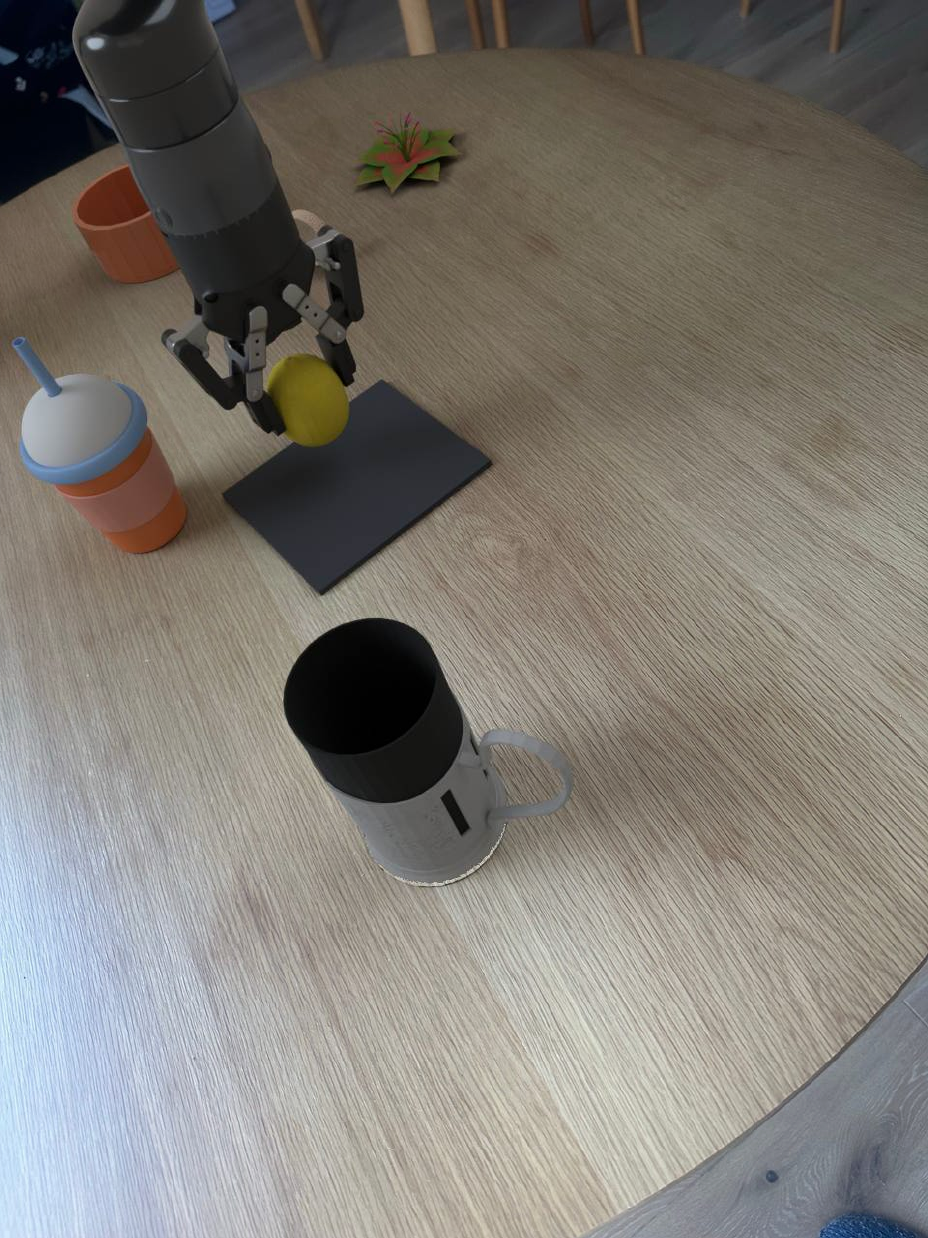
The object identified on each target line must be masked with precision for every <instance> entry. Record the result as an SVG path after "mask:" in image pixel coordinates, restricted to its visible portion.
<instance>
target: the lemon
mask: <svg viewBox="0 0 928 1238" xmlns="http://www.w3.org/2000/svg"><path fill="white" fill-rule="evenodd" d="M265 391H266V392H267V393H268V394H269V396H270V398H271V400H272V402H273V404H274V406H275V408H276V410H277V412H278V414H279V416H280V418H281V420H282V422H283V424H284V426H285V429H286V431H285V432H284V433H283V435H284V436H286V437H287V438H288V439H289V440H291V441H292V442H296V443H298V444H300V445H303V446H309V447H318V446H323V445H326V444H328V443H330V442H332V441H333V440H335V439H336V438H337V437H338V436H339V435H340V434H341V433H342V431H343V430H344V428H345V426H346V424H347V420H348V417H349V402H350V401H349V396H348V393H347V390H346V387H345V386H344V385H343V383H342V381H341V379H340V377H339V376H338V375H337V373H336V372H335V371H334V369H333V368H332V367H331V366H330V365H329V364H328V363H327V362H326V361H325V359H324V358H321V357H319V356H317V355H315V354H311V353H307V352H304V353H303V352H302V353H301V352H300V353H299V352H297V353H293V354H290V355H287V356H286V357H283V358H282V359H280V360H279V361H278V362H277V363H276V364H275V365H274V366H273V367H272V369H271V371H270V372H269V375H268V379H267V382H266V390H265Z"/></svg>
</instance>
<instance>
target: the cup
mask: <svg viewBox="0 0 928 1238" xmlns="http://www.w3.org/2000/svg"><path fill="white" fill-rule="evenodd" d="M70 213H71V218H72V221H73V223H74V224H75V226H76V228H77V230H78V231H79V233H80V235H81V236H82V238H83V240H84V241H85V243H86V245H87V246H88V248H89V250H90V251H91V253H92V255H93V257H94V258H95V260H96V261H97V264H98V265H99V267H100V269H102V271H103V272H104V273H105V275H106V276H107V277H108V278H109V279H111V280H113V281H115V282H119V283H122V284H123V283H124V284H140V283H145V282H150V281H153V280H157V279H160V278H162V277H165V276H167V275H169V274H172V273H173V272H175V271H177V270H179V269H180V268H179V266H178V264H177V262H176V260H175V258H174V256H173V254H172V252H171V250H170V248H169V247H168V245H167V243H166V241H165V239H164V237H163V235H162V233H161V231H160V229H159V227H158V225H157V223H156V221H155V219H154V218H153V216H152V214H151V212H150V210H149V208H148V206H147V204H146V202H145V200H144V198H143V196H142V194H141V193H140V191H139V189H138V187H137V184H136V182H135V180H134V178H133V176H132V173H131V170H130V168H129V165H128V163H126V164H123V165H120V166H118V167H116V168H114V169H111V170H109V171H107V172H106V173H104V174H102V175H101V176H99V177H97V178H96V179H94V180H93V181H91V183H89V184H88V185H87V186H86V187H85V188H84V189H83V190H81V192H80V193H79V195H78V196H77V197H76V198H75V200H74V201H73V204H72V208H71V211H70Z"/></svg>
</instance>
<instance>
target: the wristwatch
mask: <svg viewBox="0 0 928 1238" xmlns="http://www.w3.org/2000/svg"><path fill="white" fill-rule="evenodd" d="M291 213H292V215H293V218H294V220H299V221H300V222H303V223H305V224H307V225H308V226H309V227H310V228H311V229H312V230H313V231H314V234H315V235H317V236H316V238H318V232H319V230H320V228H321V227H323V226H325V225H327V224H326V221H323V220H322V219H321V218H320V217H319V216H317V215H316V214H314V213H312V212H311V211H309V210H305V209H294V210H292V211H291ZM316 266H319V265H318V263H317V261H316V264H315V267H316Z"/></svg>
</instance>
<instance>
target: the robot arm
mask: <svg viewBox="0 0 928 1238" xmlns="http://www.w3.org/2000/svg"><path fill="white" fill-rule="evenodd" d="M71 35H72V37H71V38H72V45H73V49H74V52H75V55H76V58H77V60H78V62H79V64H80V65H79V66H80V67H81V69H82V71H83V74H84V75H85V78H86V79H87V82H88V83H89V86H90V88H91V89H92V91H93V93H94V95H95V97H96V99H97V101H98V103H99V105H100V106H101V109H102V111H103V112H104V114H105V117H106V118H107V120H108V123H109V124H110V126H111V128H112V130H113V132H114V134H115V136H116V138H117V139H118V141H119V144H120V146H121V148H122V151H123V154H124V157H125V159H126V162H127V164H128V165H129V168H130V170H131V173H132V176H133V178H134V180H135V182H136V184H137V187H138V189H139V191H140V193H141V194H142V196H143V198H144V200H145V202H146V204H147V206H148V208H149V210H150V212H151V214H152V216H153V218H154V219H155V221H156V223H157V225H158V227H159V229H160V231H161V233H162V235H163V237H164V239H165V241H166V243H167V245H168V247H169V248H170V250H171V252H172V254H173V256H174V258H175V260H176V262H177V264H178V266H179V268H178V269H179V270H180V272H181V273H182V275H183V277H184V279H185V281H186V283H187V285H188V287H189V289H190V291H191V292H192V296H193V313H194V315H193V316H192V318H190V319H189V320H188V321H187V322H186V323H185V324H184V325H183V326H182V327H181V328H179V329H178V330H176V329H175V328H167V329H165V330H164V331H163V332H162V334H161V336H160V341H161V344H162V345H163V346H164V347H165V349H167V350H168V352H169V353H170V354H171V355H172V356H173V358H174V359H175V360H176V361H177V362H178V363H179V364H180V365H181V367H183V369H184V370H185V371H186V372H187V374H189V375H190V377H191V378H192V379H193V380H194V381H195V382H196V383H197V384H198V386H199V387H200V388H201V389H202V390H203V391H204V393H206V394H207V395H208V396H209V397H211V398H212V399H213V400H214V401H215V402H216V403H217V404H218V405H219V406H220V407H221V408H222V409H223V410H224V411H231V410H233V409H235V408H236V407H237V405H238V404H239V403H243V405H244V407H245V409H246V411H247V413H248V414H249V416H250V418H251V420H252V422H253V423H254V424H255V425H256V426H257V427H259V428H260V429H261V430H262V431H263V432H264V433H266V434H267V435H269V434H271V433H273V434H274V435H275V436H276V437H279V436H281V435H282V434H284V432H285V431H286V429H285V426H284V424H283V422H282V420H281V418H280V416H279V414H278V412H277V410H276V408H275V406H274V404H273V402H272V400H271V398H270V396H269V394H268V393H267V390H265V389H264V369H266V368H267V347H268V346H269V345H271V344H272V343H274V342H275V341H276V340H277V339H278V338H279V336H280V335H282V333H284V332H287V331H290V330H292V329H294V328H296V327H297V326H299V325H300V324H302V323H303V320H304V321H305V322H306V323H307V324H309V326H311V327H312V328H313V329H315V330H316V331H317V334H316V335H315V339H316V342H317V344H318V347H319V349H320V351H321V355H322V357H323V360H324V361H325V362H327V363H328V364H329V365H330V366H331V367H332V368H333V369H334V371H335V372H336V373H337V375H338V376H339V377H340V379H341V381H342V383H343V385H344V388H348V387H350V386H351V385H352V384H353V383H355V380H356V379H355V378H354V374H355V373H356V372H357V363H356V361H355V358H354V355H353V353H352V350H351V348H350V345H349V343H348V340H347V330H348V328H349V327H350V326H351V324H352V323H357V322H360V321H361V320H362V319H363V318H364V315H365V307H364V301H363V294H362V289H361V282H360V275H359V269H358V264H357V257H356V251H355V245H354V241H353V239H351V238H349V236H347V235H345V234H344V233H342V232H340V231H339V230H338V229H336V228H334V227H332V226H330V225H329V224H325V225H324V226H323V227H321V228H320V230H319V232H318V233H317V236H318V238H317V237H316V238H313V239H310V240H308V241H306V242H305V241H303V239H302V238H301V235H300V230H299V228H298V226H297V223H296V219H294V218H293V215H292V211H291V208H290V205H289V202H288V199H287V197H286V195H285V192H284V190H283V187H282V185H281V182H280V180H279V178H278V177H279V176H278V174H277V171H276V169H275V167H274V164H273V159H272V158H273V157H272V154H271V150H270V149H269V147H268V145H267V144H266V143H265V141H264V139H263V136H262V134H261V131H260V129H259V127H258V125H257V123H256V121H255V119H254V117H253V115H252V113H251V112H250V110H249V107H247V105H246V103H245V101H244V99H243V97H242V94H241V92H240V90H239V88H238V85H237V83H236V80H235V78H234V75H233V72H232V70H231V68H230V65H229V62H228V60H227V57H226V54H225V52H224V50H223V48H222V44H221V42H220V40H219V36H218V35H217V32H216V30H215V28H214V25H213V23H212V20H211V18H210V16H209V13H208V10H207V5H206V0H84V1H83V3H82V4H81V8H80V9H79V11H78V14H77V16H76V18H75V20H74V25H73V28H72V33H71ZM316 261H317V263H318V265H317V266H319V267H321V268H322V269H323V273H324V278H325V284H326V288H327V295H328V300H329V304H330V305H329V306H328V307H327V309H326V310H325V309H324V308H323V307H321V306H320V305H319V304H318V303H317V302H316V301H315V300H314V299H312V298H311V297H310V295H311V289H312V284H313V278H314V273H315V268H316V266H315V264H316ZM302 319H303V320H302ZM210 332H211V333H215V334H217V335H220V336H223V348H224V352H225V354H226V357H227V360H228V362H227V363H228V376H226V377H223V378H222V377H221V375H220V374H219V373H218V372H217V370H215V368H214V367H213V366H212V365H211V364H210V363H209V361H208V360H207V359H208V358H209V357H210V345H209V344H208V341H207V336H208V334H209V333H210Z"/></svg>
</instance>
